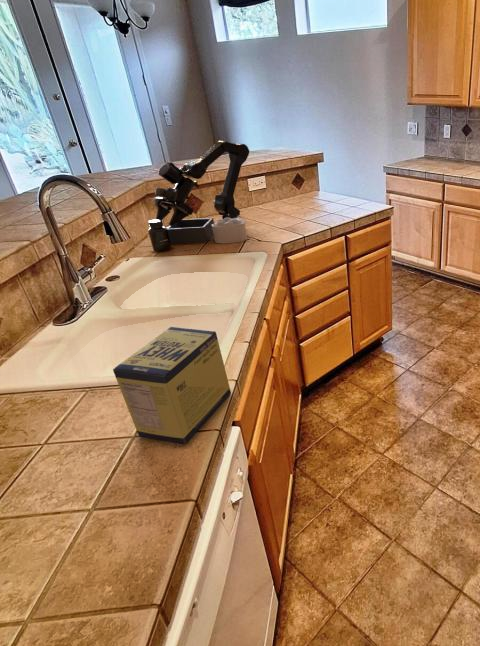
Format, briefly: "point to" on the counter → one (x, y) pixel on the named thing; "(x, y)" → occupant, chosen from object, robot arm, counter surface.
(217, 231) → the white rounded block
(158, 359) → the protein box
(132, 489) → the counter surface
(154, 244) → the supplement bottle
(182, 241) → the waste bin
